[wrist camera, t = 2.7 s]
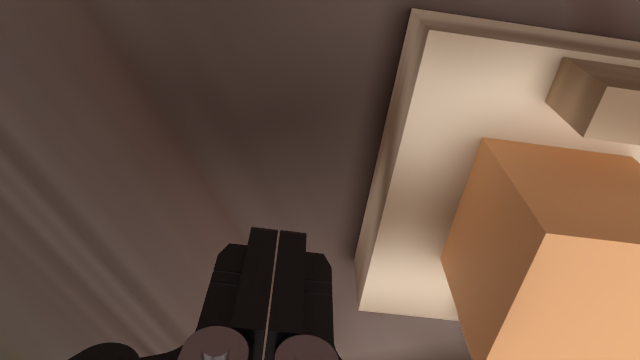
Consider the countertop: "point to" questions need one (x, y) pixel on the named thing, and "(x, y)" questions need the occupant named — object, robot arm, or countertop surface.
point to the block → (547, 254)
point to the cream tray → (478, 136)
